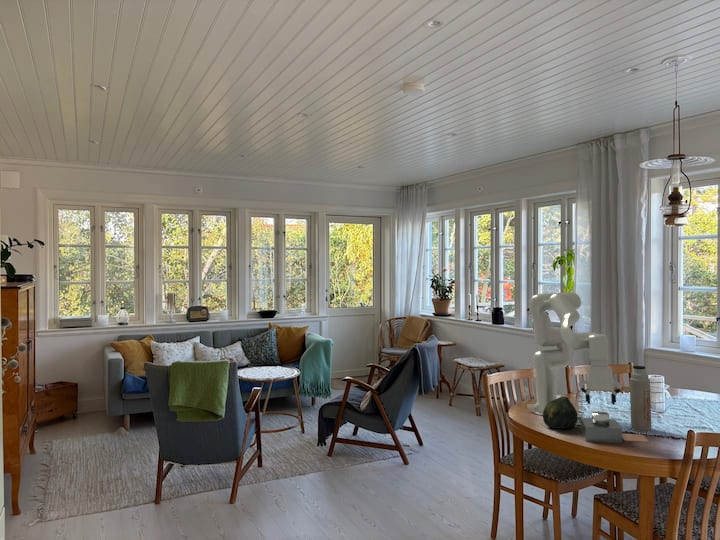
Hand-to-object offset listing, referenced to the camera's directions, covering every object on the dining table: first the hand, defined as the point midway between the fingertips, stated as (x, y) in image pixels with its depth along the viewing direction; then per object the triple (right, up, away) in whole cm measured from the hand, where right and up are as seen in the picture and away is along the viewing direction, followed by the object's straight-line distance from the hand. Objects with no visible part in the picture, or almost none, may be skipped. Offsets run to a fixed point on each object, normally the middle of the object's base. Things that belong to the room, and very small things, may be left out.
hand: (600, 403), depth 226 cm
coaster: (+13, -14, -2) cm, 19 cm away
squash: (-11, -15, +16) cm, 25 cm away
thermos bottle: (+22, -14, +10) cm, 28 cm away
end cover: (0, -14, 0) cm, 14 cm away
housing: (0, -14, 0) cm, 14 cm away
